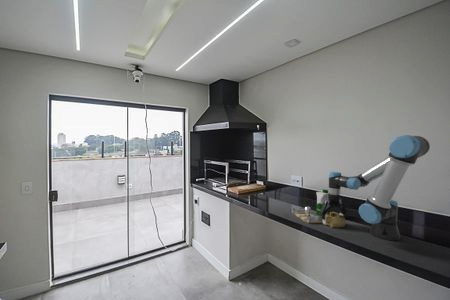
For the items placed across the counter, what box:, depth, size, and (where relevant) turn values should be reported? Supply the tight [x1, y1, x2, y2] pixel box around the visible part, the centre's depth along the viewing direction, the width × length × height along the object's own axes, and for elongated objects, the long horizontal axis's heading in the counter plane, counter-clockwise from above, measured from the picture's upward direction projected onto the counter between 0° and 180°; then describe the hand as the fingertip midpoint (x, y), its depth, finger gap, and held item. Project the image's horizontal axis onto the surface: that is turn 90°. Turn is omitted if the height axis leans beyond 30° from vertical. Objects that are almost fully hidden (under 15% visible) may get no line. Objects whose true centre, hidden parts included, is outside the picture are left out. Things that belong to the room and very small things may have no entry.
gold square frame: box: [322, 211, 346, 229], centre depth 147 cm, size 10×10×7 cm
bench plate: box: [293, 212, 323, 224], centre depth 158 cm, size 19×12×2 cm, turn 12°
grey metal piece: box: [294, 206, 322, 221], centre depth 158 cm, size 19×10×7 cm, turn 12°
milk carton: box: [315, 189, 330, 217], centre depth 167 cm, size 9×9×20 cm
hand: (332, 223), depth 147 cm, fingers open, 13 cm apart
